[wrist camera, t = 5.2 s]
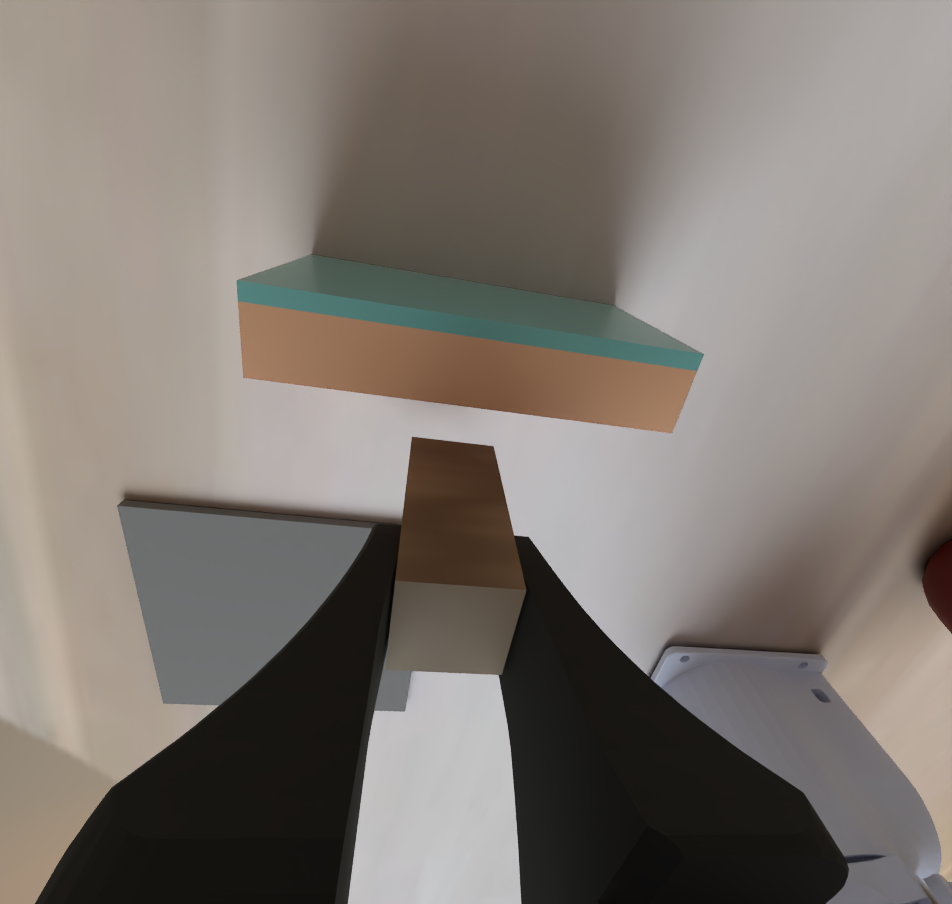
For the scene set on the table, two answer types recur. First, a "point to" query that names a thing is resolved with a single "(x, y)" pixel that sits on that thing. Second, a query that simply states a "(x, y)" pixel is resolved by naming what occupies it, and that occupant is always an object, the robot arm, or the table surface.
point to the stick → (454, 564)
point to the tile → (459, 344)
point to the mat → (234, 592)
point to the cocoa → (940, 584)
